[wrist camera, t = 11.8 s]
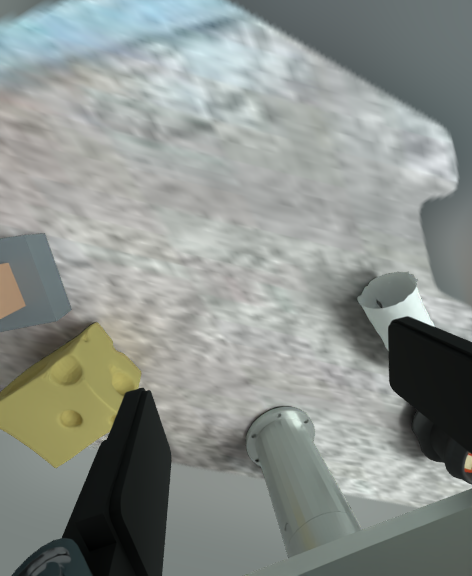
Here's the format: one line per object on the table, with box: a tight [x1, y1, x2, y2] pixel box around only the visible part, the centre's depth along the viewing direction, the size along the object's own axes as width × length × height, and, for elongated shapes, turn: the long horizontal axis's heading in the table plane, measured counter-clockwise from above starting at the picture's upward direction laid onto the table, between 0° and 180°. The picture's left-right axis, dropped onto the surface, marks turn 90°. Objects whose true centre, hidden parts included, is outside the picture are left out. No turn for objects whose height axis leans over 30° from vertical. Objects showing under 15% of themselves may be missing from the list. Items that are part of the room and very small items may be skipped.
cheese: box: [0, 322, 141, 468], centre depth 31 cm, size 10×11×10 cm
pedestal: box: [0, 233, 72, 332], centre depth 29 cm, size 10×10×4 cm
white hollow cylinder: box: [357, 271, 435, 351], centre depth 39 cm, size 8×19×8 cm, turn 36°
